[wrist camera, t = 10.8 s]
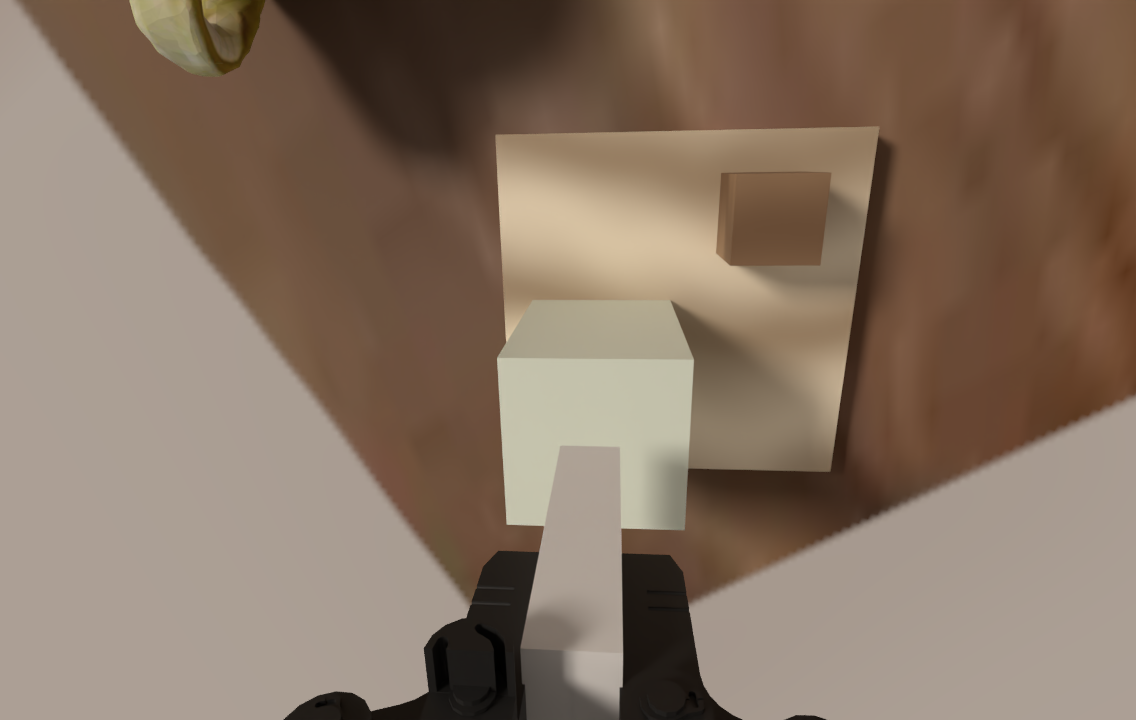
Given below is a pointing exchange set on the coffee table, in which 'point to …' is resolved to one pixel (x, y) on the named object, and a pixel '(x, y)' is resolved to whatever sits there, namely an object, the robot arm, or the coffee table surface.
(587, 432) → the pale green block
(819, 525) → the coffee table surface
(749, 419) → the board
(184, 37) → the mug
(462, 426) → the coffee table surface
